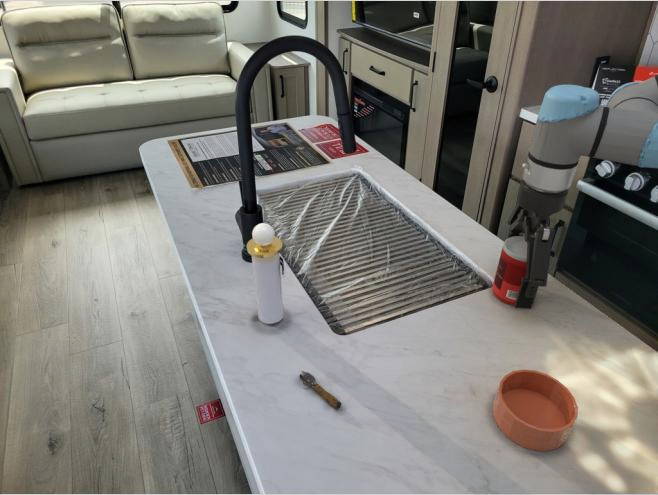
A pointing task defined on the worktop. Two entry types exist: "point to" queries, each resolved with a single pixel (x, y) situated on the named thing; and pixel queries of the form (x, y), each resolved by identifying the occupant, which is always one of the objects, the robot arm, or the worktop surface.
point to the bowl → (534, 410)
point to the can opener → (319, 389)
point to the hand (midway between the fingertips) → (515, 283)
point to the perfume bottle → (267, 272)
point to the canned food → (510, 269)
